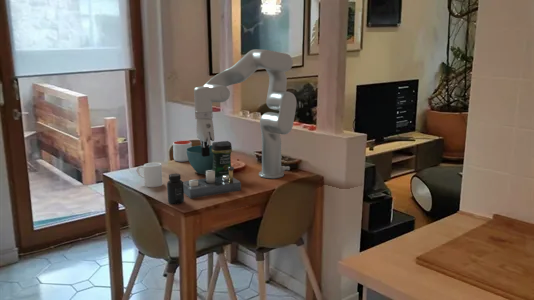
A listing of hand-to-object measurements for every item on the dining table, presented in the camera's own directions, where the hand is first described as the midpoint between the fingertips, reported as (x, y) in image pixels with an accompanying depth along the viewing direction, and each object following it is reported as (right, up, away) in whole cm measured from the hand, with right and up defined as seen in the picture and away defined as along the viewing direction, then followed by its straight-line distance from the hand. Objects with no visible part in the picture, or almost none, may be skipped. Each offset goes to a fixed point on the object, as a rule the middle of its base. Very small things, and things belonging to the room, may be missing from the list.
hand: (205, 155), depth 233 cm
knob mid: (+2, -12, +4) cm, 13 cm away
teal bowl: (-4, -9, +34) cm, 36 cm away
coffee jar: (+5, -12, +23) cm, 26 cm away
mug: (-28, -14, +14) cm, 34 cm away
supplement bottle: (-11, -20, -11) cm, 25 cm away
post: (+11, -12, +3) cm, 16 cm away
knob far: (-5, -16, +1) cm, 17 cm away
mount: (+2, -16, +5) cm, 16 cm away
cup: (-20, -3, +59) cm, 62 cm away
